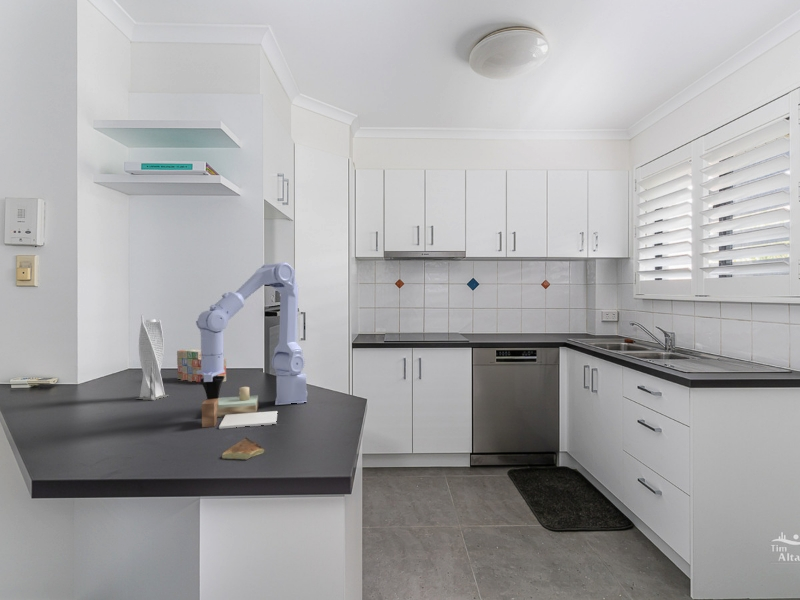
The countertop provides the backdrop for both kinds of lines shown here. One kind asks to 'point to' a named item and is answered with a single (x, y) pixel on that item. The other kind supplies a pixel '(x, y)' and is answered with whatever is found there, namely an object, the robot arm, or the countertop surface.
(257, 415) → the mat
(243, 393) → the lid
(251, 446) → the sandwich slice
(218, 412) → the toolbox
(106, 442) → the countertop surface
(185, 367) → the stack of blocks
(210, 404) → the brown rectangular block
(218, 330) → the robot arm
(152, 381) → the skyscraper
